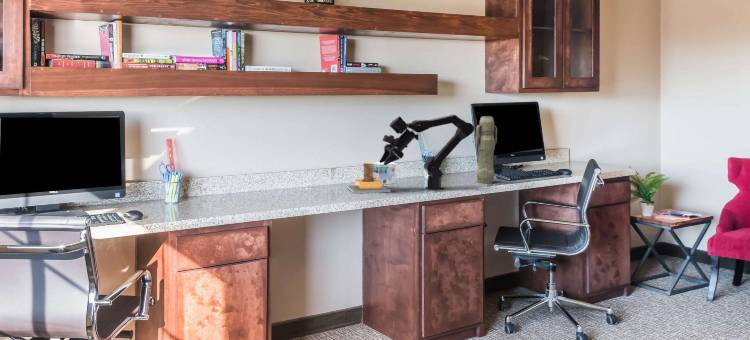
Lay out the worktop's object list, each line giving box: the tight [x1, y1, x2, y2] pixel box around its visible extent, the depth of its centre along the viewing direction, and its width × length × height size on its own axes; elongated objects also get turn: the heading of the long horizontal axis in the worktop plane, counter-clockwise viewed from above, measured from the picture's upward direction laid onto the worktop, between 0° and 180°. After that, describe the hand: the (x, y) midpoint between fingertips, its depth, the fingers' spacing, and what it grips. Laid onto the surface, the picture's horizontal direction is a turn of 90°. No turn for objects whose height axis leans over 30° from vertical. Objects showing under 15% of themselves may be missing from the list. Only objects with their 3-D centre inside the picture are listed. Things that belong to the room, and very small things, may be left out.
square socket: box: [346, 178, 392, 194], centre depth 342 cm, size 18×18×5 cm
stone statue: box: [475, 115, 498, 185], centre depth 370 cm, size 9×12×35 cm
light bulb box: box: [372, 161, 397, 185], centre depth 367 cm, size 11×7×11 cm, turn 123°
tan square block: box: [363, 162, 374, 182], centre depth 341 cm, size 4×4×12 cm
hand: (381, 163), depth 342 cm, fingers open, 9 cm apart
